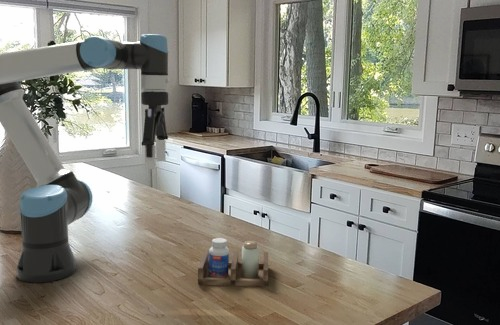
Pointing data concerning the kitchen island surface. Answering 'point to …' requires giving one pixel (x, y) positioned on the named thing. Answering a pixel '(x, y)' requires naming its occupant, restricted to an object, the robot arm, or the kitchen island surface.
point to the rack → (232, 273)
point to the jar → (250, 260)
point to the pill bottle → (219, 258)
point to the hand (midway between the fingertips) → (155, 164)
